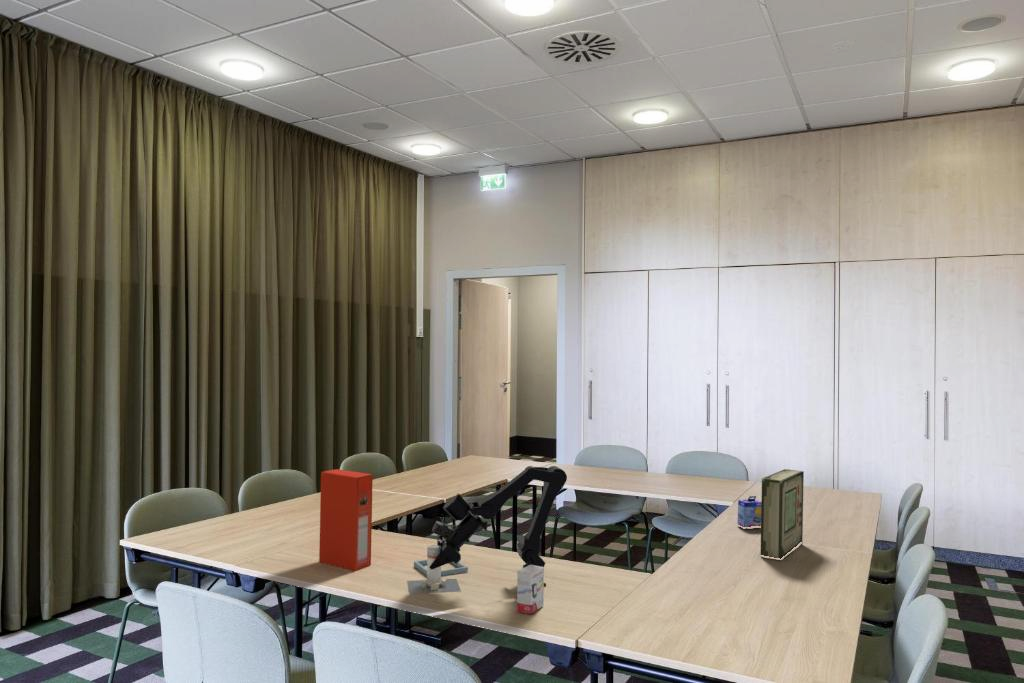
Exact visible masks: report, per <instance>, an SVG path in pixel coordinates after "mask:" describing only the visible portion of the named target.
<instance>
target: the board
mask: <svg viewBox="0 0 1024 683" xmlns="http://www.w3.org/2000/svg"><path fill="white" fill-rule="evenodd" d="M406 582H407V587H408V594H410V595H413V594H433V593H434V594H435V593H437V594H438V593H453V592H462V590H461V587H460V585H459V582H458V580H457V578H441V586H440V587H439V583H431V587H427V586H426V582H427V579H424V578H423V579H418V580H417V579H416V580H406Z"/></svg>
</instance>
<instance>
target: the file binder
mask: <svg viewBox="0 0 1024 683" xmlns="http://www.w3.org/2000/svg"><path fill="white" fill-rule="evenodd" d="M373 477H374V476H373V474H372V473H365V472H358V471H352V470H346V469H339V468H336V469H330V470H325V471H321V472H320V505H319V506H320V507H319V508H320V510H319V511H320V512H319V513H320V514H319V549H318V550H319V553H318V555H319V556H318V561H319V563H321V564H325V565H329V566H333V567H338V568H342V569H345V570H348V571H351V572H352V571H353V572H357V571H361V570H363V569H366V568H367V567H370V566H371V565H372V533H373V532H372V528H373V527H372V526H373V522H372V520H373V518H372V517H373V480H374V479H373Z"/></svg>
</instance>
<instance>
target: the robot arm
mask: <svg viewBox="0 0 1024 683" xmlns="http://www.w3.org/2000/svg"><path fill="white" fill-rule="evenodd" d="M567 478H568V476H567V473H566V471H564V469H562V468H560V467H558V466H557V465H551V466H549V467H543V466H532V465H529V466H526V467H525V468H524V470H522V471H521V472H520V473H519V474H517V475H516V476H515V477H513V478H512V479H511V480H509V482H507V483H506V484H504V485H503V486H502V487H501V488H499V489H498V490H496V491H494V492H492V493H489V494H488V495H486V496H484V497H481V498H480V499H478V501H474V502H467V501H466V500H465V499H464V498H463V496H462V495H461V494H460V493H457V494H456V495H454V496H452V497H451V498H449V499H448V500H447V501H446V502H445V504H444V505H443V507H442V509H444V511H445V512H446V513H447V514H448V515H449V516H451V518H453V520H454V521H460V522H459V523H457V525H456V524H453V525H452V526H449V525H448V524H446V523H443V522H442V521H439V520H436V521H435V522H434V524H433V526H432V528H431V529H432V530H431V531H432V533H433V534H435V535H436V536H437V539H436V544H437V545H438V546H441V547H442V548H441V547H440V551H439V554H438V556H437V557H436V558H435V560H434V561H433V563H432V564H431V565H430V569H431V570H432V569H435V568H437V567H440V566H441V567H442V566H444V565H448V564H452V563H451V562H455V563H456V564H457V563H458V562H460V561H462V555H461V552H460V551H461V548H462V546H464V545H465V544H468V543H469V542H470V539H471V537H473V535H474V534H476V532H478V530H479V529H480V528H482V529H483V530H484V531H487V530H488V521H487V520H491V519H493V518H494V517H495V516H496V515H497V514H498V513H499V511H501V509H502V508H503V506H504V505H505V503H506V502H507V501H508V500H510V499H511V498H512V497H514V496H515V495H517V493H519V492H520V491H521V490H523V489H524V488H525V487H526V486H527V485H528V484H530V483H531V482H533V481H540V482H543V489H542V494H541V497H540V499H539V502H538V505H537V507H536V509H535V513H534V514H533V517H532V519H531V520H532V521H531V523H530V526H529V529H528V531H527V532H526V534H521V533H520V535H519V541H518V543H516V547H517V548H516V551H517V554H518V556H519V557H520V559H521V560H522V561H523V563H525V564H522V568H524V567H526V566H528V565H536V566H541V567H544V568H545V565H546V562H545V561H544V559H543V558H542V556H540V555H539V554H540V551H541V538H542V534H543V531H544V529H545V527H546V524H547V522H548V518H549V515H550V513H551V510H552V508H553V504H554V502H555V499H556V497H557V496H558V494H559V493H560V492H561V491H562V490H563V487H564V485H566V483H567V480H568V479H567ZM439 539H440V540H439ZM545 586H547V583H546V582H544V587H545Z"/></svg>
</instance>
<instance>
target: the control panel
mask: <svg viewBox="0 0 1024 683" xmlns="http://www.w3.org/2000/svg"><path fill="white" fill-rule="evenodd" d="M804 472H805V471H802V470H796V469H795V470H794V469H787V468H786V469H785V468H784V469H782V470H779V471H777V472H774V473H772V474H769V475H768V476H765V477H762V478H761V500H760V501H761V529H760V555H764V556H769V557H774V558H780V559H781V558H782V557H783V556H785V555H786V554H787V553H788V552H790V551H791V550H792V549H793V548H794V547H796V546H797V545H798V544H799V543H800V542H802V543H803V536H804V535H803V532H804V531H803V528H804V526H803V524H804V523H803V522H804Z"/></svg>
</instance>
